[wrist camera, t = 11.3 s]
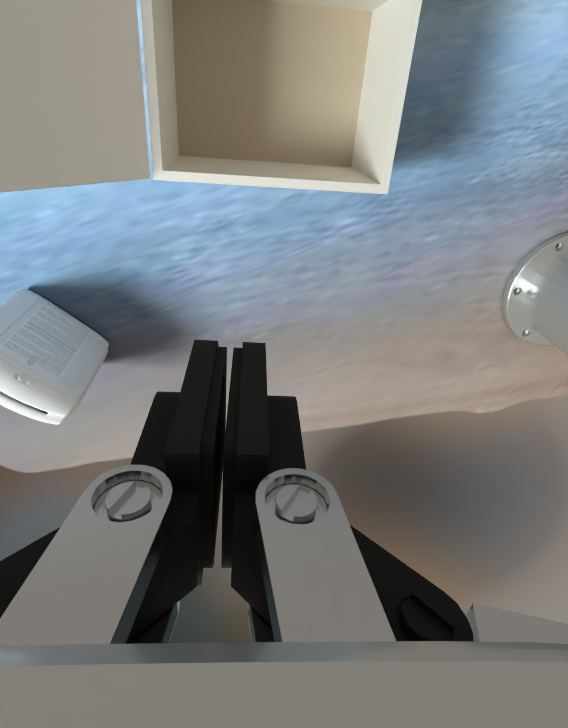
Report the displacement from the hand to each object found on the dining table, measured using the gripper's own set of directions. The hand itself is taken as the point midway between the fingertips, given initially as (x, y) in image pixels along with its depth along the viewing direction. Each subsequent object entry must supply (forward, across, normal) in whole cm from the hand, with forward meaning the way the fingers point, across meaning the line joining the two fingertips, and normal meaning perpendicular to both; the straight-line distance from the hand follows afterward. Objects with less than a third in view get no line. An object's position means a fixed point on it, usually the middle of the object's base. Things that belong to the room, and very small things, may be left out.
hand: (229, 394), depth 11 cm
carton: (+33, -1, -8) cm, 34 cm away
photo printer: (+33, +18, +14) cm, 40 cm away
